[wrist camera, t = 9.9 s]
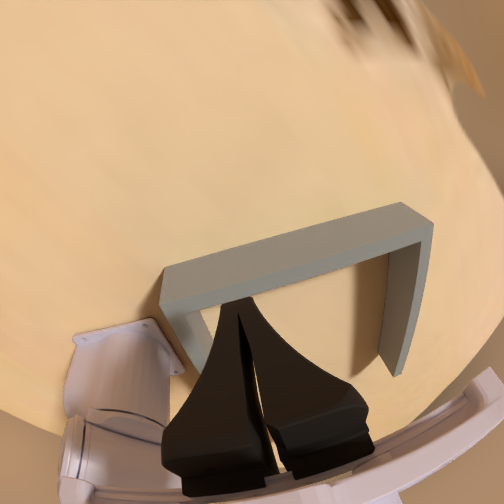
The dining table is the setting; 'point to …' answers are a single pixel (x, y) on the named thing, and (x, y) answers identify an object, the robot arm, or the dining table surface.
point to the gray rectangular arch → (307, 274)
